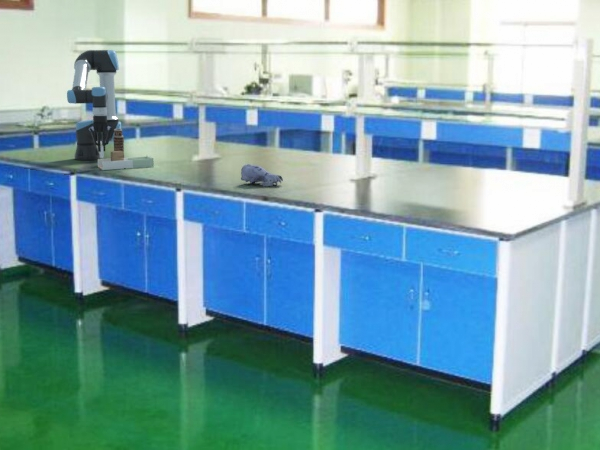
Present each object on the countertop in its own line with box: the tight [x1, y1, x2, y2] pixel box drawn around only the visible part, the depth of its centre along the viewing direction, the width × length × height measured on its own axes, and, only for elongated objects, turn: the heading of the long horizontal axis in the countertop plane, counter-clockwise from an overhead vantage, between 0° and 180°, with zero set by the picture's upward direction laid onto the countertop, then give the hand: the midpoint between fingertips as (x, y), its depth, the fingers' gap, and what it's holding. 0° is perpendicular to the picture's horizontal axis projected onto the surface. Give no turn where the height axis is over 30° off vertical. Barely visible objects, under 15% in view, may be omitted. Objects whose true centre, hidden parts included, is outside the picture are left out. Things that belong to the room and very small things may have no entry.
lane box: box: [97, 155, 155, 171], centre depth 480 cm, size 12×29×5 cm, turn 115°
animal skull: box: [240, 163, 284, 187], centre depth 419 cm, size 14×22×10 cm, turn 58°
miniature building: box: [113, 128, 125, 153], centre depth 495 cm, size 10×10×20 cm
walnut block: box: [109, 150, 125, 161], centre depth 477 cm, size 6×6×6 cm
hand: (102, 157), depth 473 cm, fingers closed
